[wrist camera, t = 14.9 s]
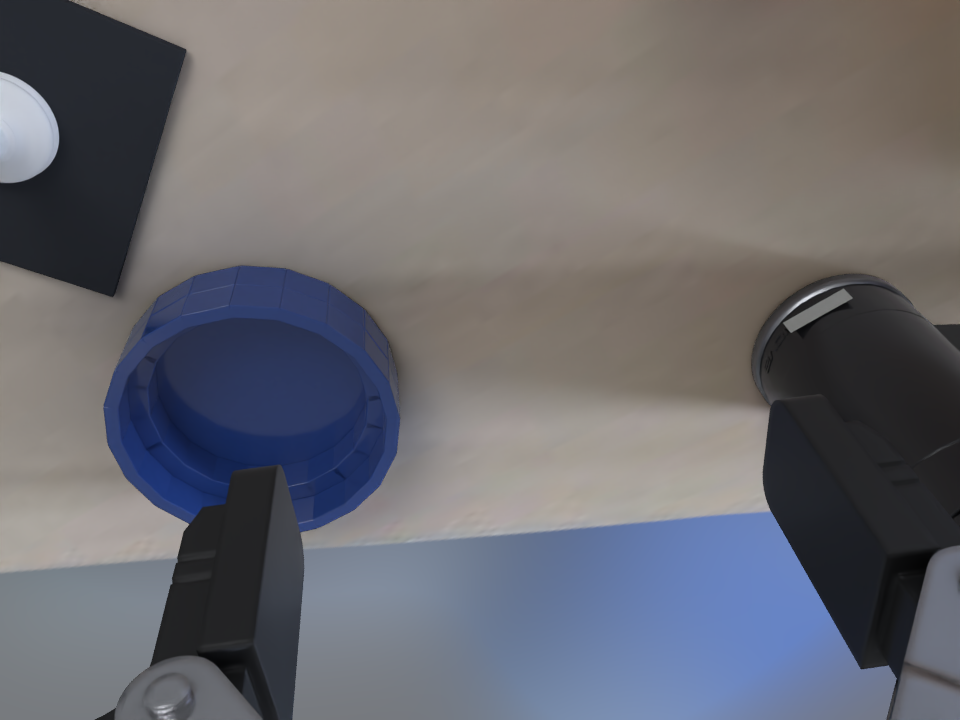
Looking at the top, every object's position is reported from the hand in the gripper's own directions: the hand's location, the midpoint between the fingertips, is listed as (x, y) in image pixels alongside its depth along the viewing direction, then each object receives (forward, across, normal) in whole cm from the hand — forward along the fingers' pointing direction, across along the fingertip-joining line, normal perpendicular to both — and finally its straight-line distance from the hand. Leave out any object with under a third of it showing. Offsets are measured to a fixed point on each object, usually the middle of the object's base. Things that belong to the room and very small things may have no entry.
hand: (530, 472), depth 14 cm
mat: (+30, +19, +1) cm, 36 cm away
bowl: (+30, +11, +17) cm, 36 cm away
